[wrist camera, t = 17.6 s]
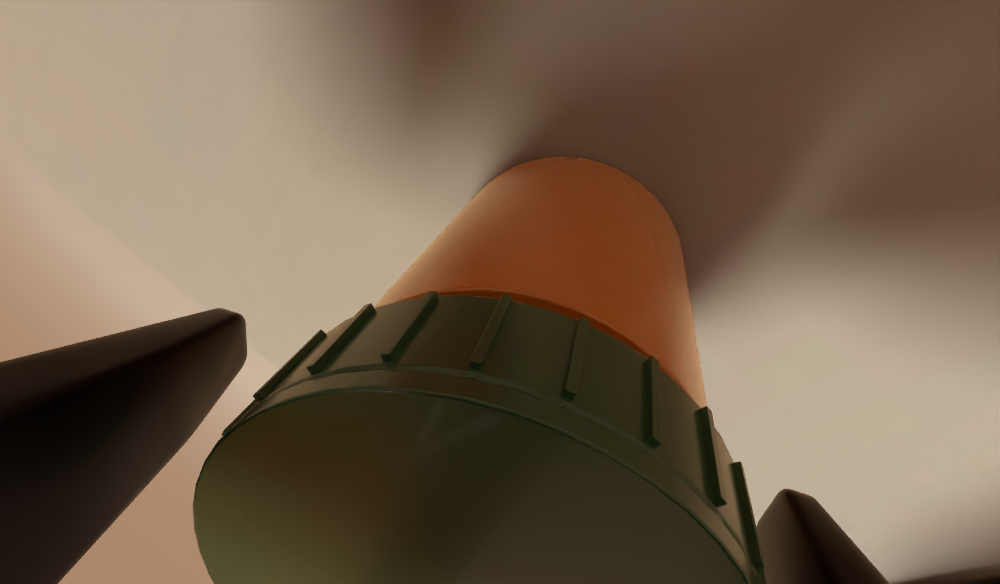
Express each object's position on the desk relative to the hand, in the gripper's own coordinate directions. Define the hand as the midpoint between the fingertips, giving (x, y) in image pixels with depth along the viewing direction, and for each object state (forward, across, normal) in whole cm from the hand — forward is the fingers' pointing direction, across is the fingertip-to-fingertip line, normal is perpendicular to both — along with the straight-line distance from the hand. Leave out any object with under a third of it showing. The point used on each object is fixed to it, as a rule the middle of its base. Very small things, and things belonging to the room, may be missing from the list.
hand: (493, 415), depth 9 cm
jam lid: (-3, 0, 0) cm, 3 cm away
